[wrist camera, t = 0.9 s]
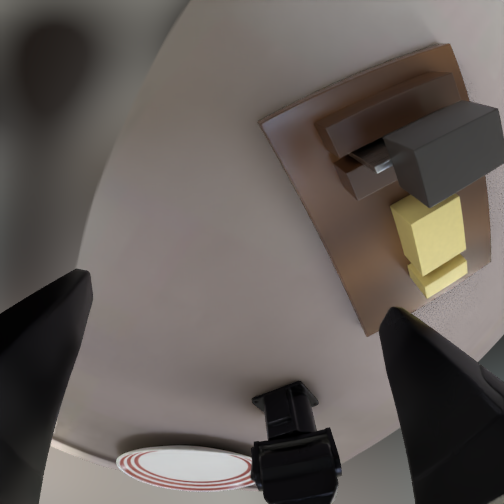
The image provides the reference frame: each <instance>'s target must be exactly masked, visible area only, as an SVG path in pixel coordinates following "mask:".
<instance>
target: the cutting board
mask: <svg viewBox="0 0 504 504" xmlns="http://www.w3.org/2000/svg"><path fill="white" fill-rule="evenodd" d="M461 100H464V101H469V97H468V94H467V91H466V87H465V84H464V81H463V78H462V75H461V72H460V69H459V66H458V64H457V61H456V58H455V55H454V53H453V50H452V48H451V45H450V44H437V45H434V46H431V47H428V48H425V49H422V50H419V51H416V52H413V53H410V54H407V55H404V56H401V57H398V58H396V59H393V60H390V61H388V62H385V63H382V64H380V65H377V66H375V67H372V68H370V69H367V70H365V71H362V72H360V73H357V74H355V75H353V76H350V77H348V78H346V79H343V80H341V81H339V82H336V83H334V84H332V85H330V86H327V87H325V88H323V89H321V90H319V91H317V92H315V93H312V94H310V95H308V96H306V97H304V98H302V99H300V100H298V101H296V102H294V103H292V104H290V105H288V106H286V107H284V108H282V109H280V110H278V111H276V112H274V113H272V114H270V115H269V116H267V117H265V118H263V119H261V120H259V121H258V124H259V126H260V128H261V129H262V131H263V133H264V135H265V136H266V138H267V140H268V141H269V143H270V145H271V147H272V148H273V150H274V152H275V154H276V155H277V157H278V159H279V161H280V163H281V164H282V166H283V168H284V170H285V172H286V173H287V175H288V177H289V179H290V181H291V183H292V184H293V186H294V188H295V190H296V192H297V194H298V196H299V197H300V199H301V201H302V203H303V205H304V207H305V209H306V211H307V213H308V215H309V217H310V219H311V220H312V222H313V224H314V226H315V228H316V230H317V232H318V234H319V236H320V238H321V240H322V242H323V244H324V246H325V248H326V250H327V252H328V254H329V256H330V258H331V261H332V263H333V265H334V267H335V269H336V271H337V273H338V275H339V277H340V279H341V281H342V284H343V286H344V288H345V290H346V292H347V294H348V297H349V299H350V301H351V303H352V305H353V308H354V310H355V312H356V314H357V316H358V319H359V321H360V323H361V326H362V328H363V330H364V332H365V334H366V336H367V337H368V336H370V335H372V334H374V333H376V332H378V331H379V326H380V324H381V322H382V320H383V319H384V317H385V315H386V313H387V311H388V310H389V309H390V308H391V307H393V306H394V307H403V308H404V309H406V310H407V311H409V312H410V313H412V312H414V311H416V310H418V309H419V308H421V307H423V306H424V305H426V304H428V303H429V302H431V301H433V300H434V299H436V298H438V297H439V296H441V295H442V294H444V293H445V292H447V291H449V290H450V289H452V288H453V287H455V286H456V285H458V284H459V283H461V282H462V281H464V280H465V279H467V278H468V277H470V276H471V275H473V274H474V273H476V272H477V271H479V270H480V269H481V268H483V267H484V266H486V265H487V264H488V263H490V262H491V234H490V216H489V204H488V194H487V186H486V178H485V176H483V177H481V178H480V179H478V180H476V181H475V182H473V183H472V184H470V185H468V186H467V187H465V188H463V189H462V190H460V191H458V192H457V193H455V194H457V195H458V196H459V197H460V203H461V210H462V217H463V224H464V233H465V242H466V250H464V251H463V252H461V253H460V254H461V255H462V256H463V257H464V258H465V259H466V260H467V271H468V273H467V274H465V275H464V276H462V277H461V278H459V279H458V280H456V281H455V282H453V283H452V284H450V285H449V286H447V287H446V288H444V289H442V290H441V291H439V292H438V293H436V294H434V295H433V296H431V297H429V298H428V299H427V298H426V297H425V296H424V295H423V293H422V292H421V291H420V289H419V288H418V287H417V285H416V284H415V283H414V282H413V280H412V279H411V278H410V275H409V271H408V265H409V264H411V262H410V261H409V260H408V258H407V257H406V256H405V255H404V252H403V248H402V244H401V241H400V237H399V234H398V230H397V227H396V224H395V220H394V217H393V214H392V211H391V208H390V206H391V205H392V204H394V203H396V202H398V201H400V200H401V199H403V198H405V197H407V196H409V195H411V194H409V193H408V192H407V191H405V190H404V189H402V188H401V187H400V185H399V182H398V179H397V176H396V173H395V170H394V167H393V166H391V167H389V168H387V169H385V170H383V171H381V172H380V173H378V174H377V173H375V172H374V171H372V170H371V169H369V168H368V167H366V166H365V165H363V164H362V163H360V162H359V161H357V160H356V159H354V158H352V157H351V156H349V155H348V154H349V153H351V152H353V151H355V150H357V149H359V148H361V147H363V146H365V145H367V144H369V143H371V142H373V141H375V140H377V139H379V138H381V137H383V136H385V135H387V134H389V133H391V132H393V131H395V130H398V129H400V128H402V127H404V126H406V125H408V124H410V123H412V122H414V121H416V120H419V119H421V118H423V117H425V116H427V115H429V114H431V113H434V112H436V111H438V110H440V109H442V108H445V107H448V106H450V105H452V104H454V103H457V102H459V101H461ZM469 102H470V101H469Z"/></svg>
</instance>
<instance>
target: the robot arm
mask: <svg viewBox="0 0 504 504" xmlns="http://www.w3.org/2000/svg"><path fill="white" fill-rule="evenodd" d="M92 301H93V291H92V283H91V276H90V273H89V272H88V271H87V270H81V269H75V270H73V271H71V272H69V273H68V274H66V275H64V276H62V277H60V278H59V279H57V280H55V281H54V282H52V283H50V284H48V285H47V286H45V287H43V288H42V289H40V290H38V291H36V292H35V293H33V294H31V295H30V296H28V297H26V298H25V299H23V300H22V301H20V302H18V303H17V304H15V305H13V306H12V307H10V308H9V309H7V310H5V311H4V312H2V313H1V314H0V504H39V499H40V492H41V487H42V481H43V475H44V470H45V466H46V461H47V456H48V452H49V448H50V444H51V440H52V436H53V432H54V428H55V424H56V421H57V417H58V414H59V410H60V407H61V403H62V400H63V397H64V394H65V390H66V387H67V384H68V381H69V378H70V375H71V372H72V369H73V367H74V364H75V361H76V358H77V355H78V352H79V349H80V346H81V342H82V339H83V335H84V331H85V327H86V323H87V319H88V316H89V312H90V309H91V305H92ZM379 336H380V340H381V345H382V350H383V356H384V361H385V366H386V371H387V375H388V379H389V383H390V387H391V390H392V394H393V398H394V402H395V406H396V409H397V414H398V418H399V422H400V426H401V430H402V434H403V439H404V443H405V448H406V453H407V457H408V463H409V468H410V473H411V479H412V481H413V482H412V486H413V492H414V498H415V504H504V382H503V381H502V380H500V379H499V378H498V377H496V376H495V375H494V374H492V373H491V372H490V371H488V370H487V369H486V368H484V367H483V366H482V365H479V363H478V362H476V361H475V360H474V359H473V358H471V357H470V356H469V355H467V354H466V353H465V352H463V351H462V350H461V349H459V348H458V347H457V346H455V345H454V344H453V343H451V342H450V341H449V340H447V339H446V338H444V337H443V336H442V335H440V334H439V333H438V332H436V331H435V330H434V329H432V328H431V327H429V326H428V325H427V324H425V323H424V322H422V321H421V320H420V319H418V318H417V317H416V316H414V315H413V314H411V313H410V312H409V311H407V310H406V309H404V308H403V307H394V306H393V307H391V308H390V309H389V310H388V311H387V313H386V315H385V317H384V319H383V320H382V322H381V324H380V326H379ZM252 403H253V404H254V405H256V406H257V407H258V408H259V409H261V410H262V411H263V412H264V413H265V422H266V430H267V438H268V441H261V442H259V441H256V442H254V447H252V448H251V454H252V465H251V474H250V478H251V480H252V481H254V482H255V483H256V486H257V487H258V490H259V491H263V495H264V499H265V500H266V502H267V503H268V504H333V503H334V500H335V498H336V495H337V489H338V479H337V477H340V476H342V470H341V463H340V459H339V455H338V451H337V448H336V445H335V442H334V439H333V436H332V432H331V429H330V427H329V428H325V429H324V430H320V431H317V429H316V425H315V420H314V416H313V412H312V408H311V407H314V406H316V405H318V404H319V402H318V400H317V399H316V397H315V396H314V395H313V394H312V393H311V392H310V391H309V390H308V388H307V387H306V386H305V385H304V384H303V383H302V382H301V381H297V382H294V383H291V384H289V385H286V386H284V387H281V388H279V389H276V390H273V391H271V392H268V393H265V394H262V395H260V396H257V397H254V398H252Z"/></svg>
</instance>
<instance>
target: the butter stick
mask: <svg viewBox="0 0 504 504" xmlns="http://www.w3.org/2000/svg"><path fill="white" fill-rule="evenodd" d="M390 208H391V211H392V214H393V217H394V220H395V224H396V227H397V230H398V234H399V237H400V241H401V244H402V248H403V252H404V255H405V256H406V257H407V258H408V260H409V261H410V262H411V263H412V264H413V265H414V267H415V268H416V269H417V270H418V271H419V273H420V274H421V275H422V276H425V275H426V274H428V273H430V272H431V271H433V270H434V269H436V268H438V267H439V266H441V265H442V264H444V263H446V262H447V261H449V260H450V259H452V258H454V257H455V256H457V255H458V254H460V253H461V252H463V251H464V250H466V242H465V233H464V224H463V217H462V210H461V203H460V197H459V196H458V195H457V194H453V195H452V196H450V197H448V198H447V199H445V200H443V201H442V202H440V203H438V204H436V205H435V206H433V207H431V208H428V207H427V206H426V205H424V204H423V203H422V202H420V201H419V200H418V199H416V198H415V197H413V196H412V195H409V196H407V197H405V198H403V199H401V200H400V201H398V202H396V203H394V204H392V205H391V206H390Z"/></svg>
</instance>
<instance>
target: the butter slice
mask: <svg viewBox="0 0 504 504" xmlns="http://www.w3.org/2000/svg"><path fill="white" fill-rule="evenodd" d="M408 271H409V275H410V278H411V279H412V280H413V282H414V283H415V284H416V285H417V287H418V288H419V289H420V291H421V292H422V293H423V295H424V296H425V297H426V298H427V299H428V298H429V297H431V296H433V295H434V294H436V293H438V292H439V291H441V290H442V289H444V288H446V287H447V286H449V285H450V284H452V283H453V282H455V281H456V280H458V279H459V278H461V277H462V276H464V275H465V274H467V273H468V271H467V260H466V259H465V258H464V257H463V256H462V255H461V254H458V255H457V256H455V257H454V258H452V259H450V260H449V261H447V262H446V263H444V264H442V265H441V266H439V267H438V268H436V269H434V270H433V271H431V272H430V273H428V274H426V275H425V276H422V275H421V274H420V273H419V271H418V270H417V269H416V268H415V267H414V265H413V264H412V263H411V264H409V265H408Z"/></svg>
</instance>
